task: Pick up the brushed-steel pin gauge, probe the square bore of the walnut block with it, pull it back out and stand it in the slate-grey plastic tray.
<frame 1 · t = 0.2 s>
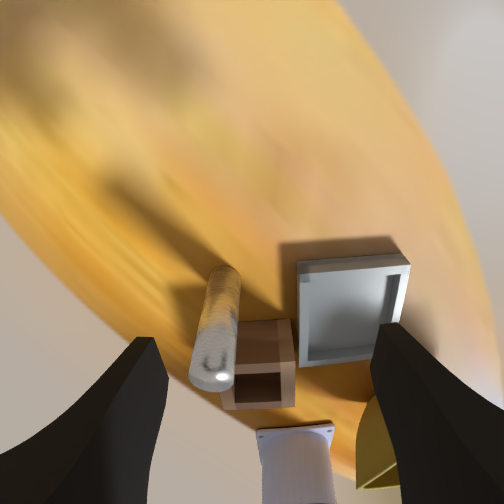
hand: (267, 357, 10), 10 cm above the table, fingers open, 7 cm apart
flower pot: (398, 387, 26), on the table
pin gauge: (225, 279, 20), on the table
walnut block: (256, 346, 23), on the table
tray: (347, 307, 21), on the table
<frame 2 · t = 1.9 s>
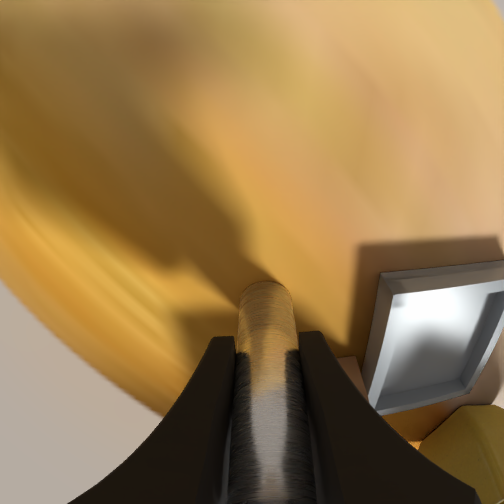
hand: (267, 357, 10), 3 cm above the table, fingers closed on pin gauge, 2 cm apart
flower pot: (456, 421, 18), on the table
pin gauge: (265, 302, 12), on the table, touching gripper
walnut block: (301, 393, 15), on the table
tray: (431, 336, 13), on the table
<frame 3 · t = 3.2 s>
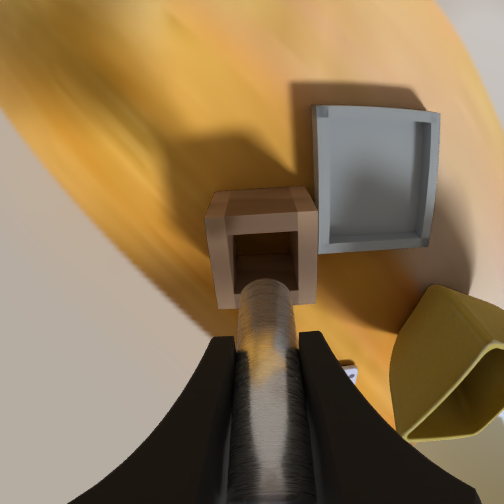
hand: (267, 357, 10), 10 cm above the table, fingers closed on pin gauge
flower pot: (432, 313, 22), on the table
pin gauge: (265, 300, 12), point 7 cm above the table, touching gripper
walnut block: (262, 229, 19), on the table
tray: (373, 175, 17), on the table
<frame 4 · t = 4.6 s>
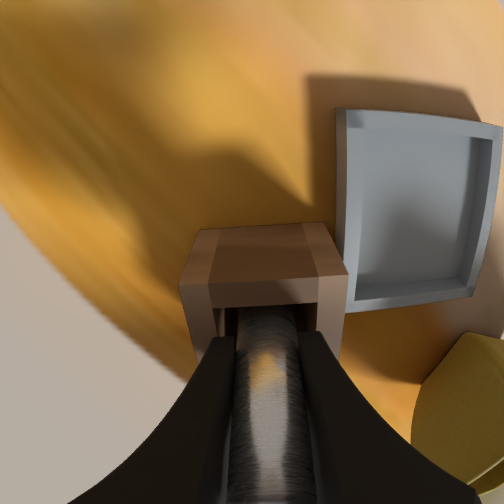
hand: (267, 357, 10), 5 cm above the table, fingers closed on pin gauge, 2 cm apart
flower pot: (460, 360, 17), on the table
pin gauge: (265, 299, 12), point 2 cm above the table, touching gripper
walnut block: (264, 279, 14), on the table
tray: (413, 207, 12), on the table
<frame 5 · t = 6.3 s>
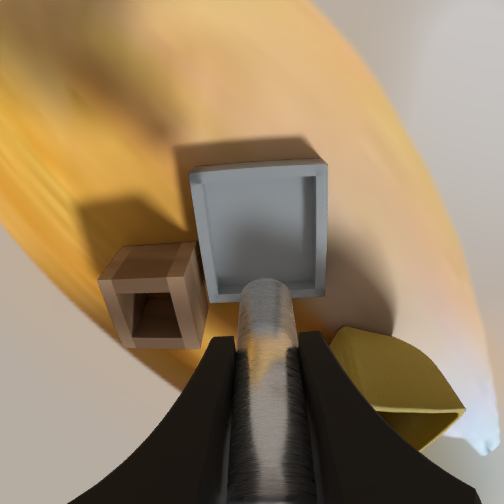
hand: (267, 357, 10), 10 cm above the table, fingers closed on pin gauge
flower pot: (352, 351, 24), on the table
pin gauge: (265, 299, 12), point 7 cm above the table, touching gripper
walnut block: (165, 278, 20), on the table
tray: (262, 229, 19), on the table
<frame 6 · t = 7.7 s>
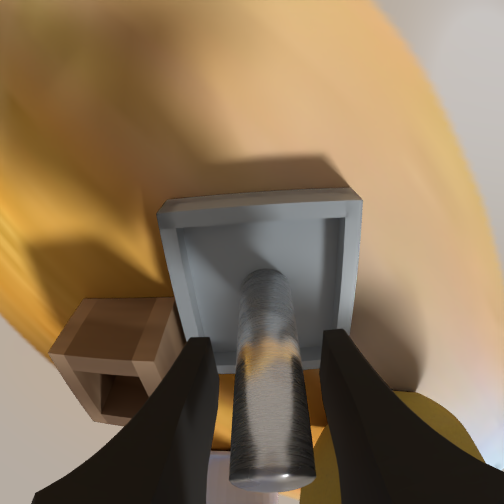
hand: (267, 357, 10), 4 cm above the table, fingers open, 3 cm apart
flower pot: (369, 408, 18), on the table
pin gauge: (265, 289, 13), point 1 cm above the table, touching tray
walnut block: (140, 337, 15), on the table
tray: (265, 283, 14), on the table
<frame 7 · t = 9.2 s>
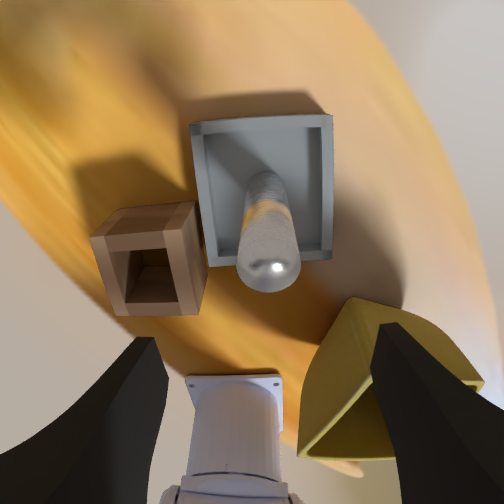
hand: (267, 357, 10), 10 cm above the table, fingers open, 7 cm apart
flower pot: (359, 326, 23), on the table
pin gauge: (266, 188, 17), point 1 cm above the table, touching tray
walnut block: (162, 243, 19), on the table
tray: (265, 186, 17), on the table
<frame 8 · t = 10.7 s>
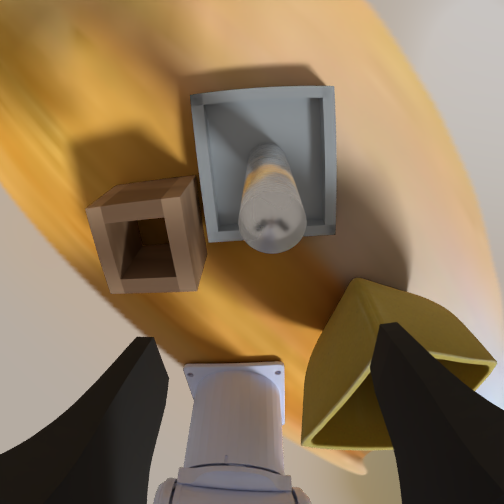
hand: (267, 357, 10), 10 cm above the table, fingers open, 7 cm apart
flower pot: (364, 310, 22), on the table
pin gauge: (267, 161, 16), point 1 cm above the table, touching tray
walnut block: (161, 220, 19), on the table
tray: (266, 160, 17), on the table
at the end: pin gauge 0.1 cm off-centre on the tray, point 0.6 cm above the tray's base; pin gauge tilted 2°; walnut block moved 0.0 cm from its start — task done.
